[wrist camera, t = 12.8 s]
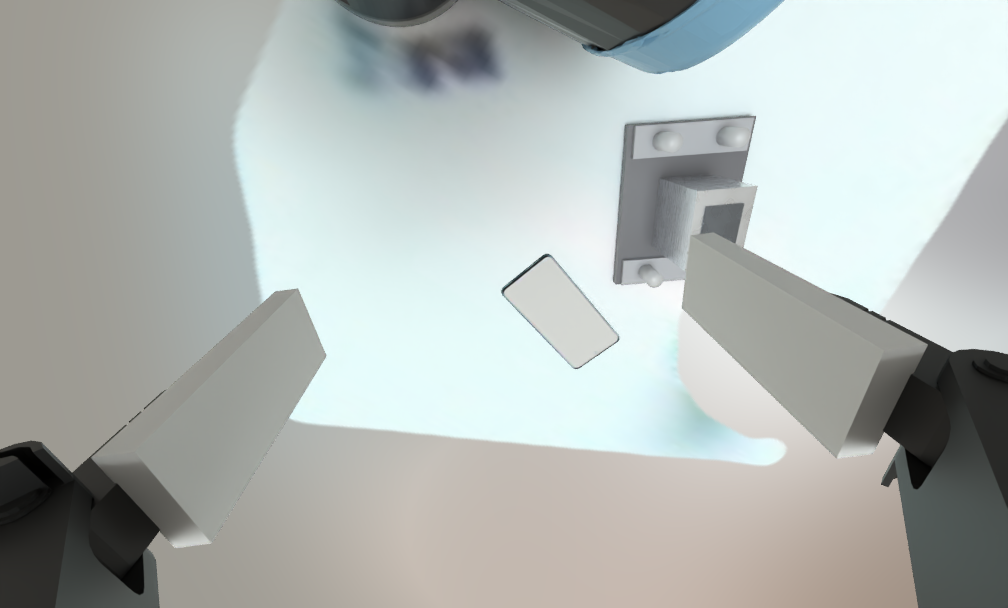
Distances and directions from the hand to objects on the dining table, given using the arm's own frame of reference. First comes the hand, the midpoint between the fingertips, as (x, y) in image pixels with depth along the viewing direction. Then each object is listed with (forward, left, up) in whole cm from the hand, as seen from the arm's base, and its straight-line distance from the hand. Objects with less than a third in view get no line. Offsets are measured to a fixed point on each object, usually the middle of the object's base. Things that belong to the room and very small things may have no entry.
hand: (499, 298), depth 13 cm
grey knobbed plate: (+4, +20, -26) cm, 33 cm away
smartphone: (+16, +8, -27) cm, 32 cm away
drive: (+5, +20, -26) cm, 32 cm away
